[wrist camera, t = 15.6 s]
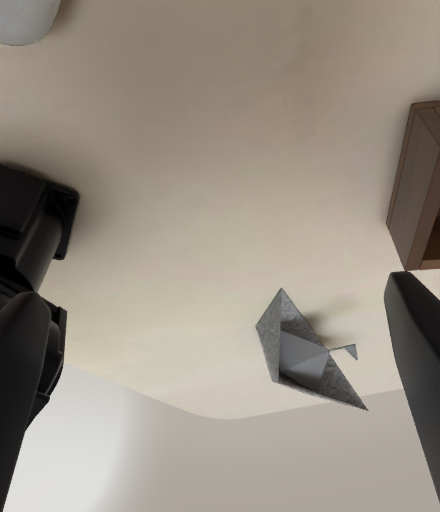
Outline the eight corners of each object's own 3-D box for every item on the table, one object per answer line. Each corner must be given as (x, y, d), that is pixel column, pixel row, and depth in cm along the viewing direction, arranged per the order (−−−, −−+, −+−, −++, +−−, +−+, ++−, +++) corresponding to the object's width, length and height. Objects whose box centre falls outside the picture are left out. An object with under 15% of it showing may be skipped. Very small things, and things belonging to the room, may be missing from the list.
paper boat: (212, 331, 33) (284, 304, 26) (253, 289, 37) (325, 256, 30) (295, 440, 34) (387, 444, 26) (327, 388, 38) (414, 379, 31)
